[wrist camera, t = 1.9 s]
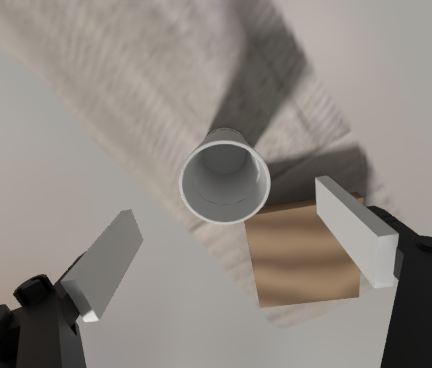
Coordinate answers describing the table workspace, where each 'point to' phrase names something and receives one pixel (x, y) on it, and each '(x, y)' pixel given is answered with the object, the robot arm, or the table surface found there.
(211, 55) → the table surface
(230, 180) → the cup
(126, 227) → the robot arm
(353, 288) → the low wooden table
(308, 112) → the table surface
